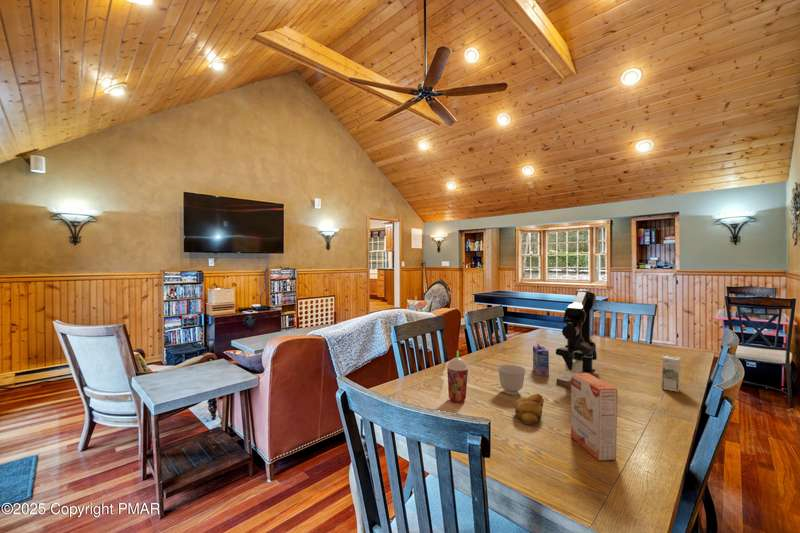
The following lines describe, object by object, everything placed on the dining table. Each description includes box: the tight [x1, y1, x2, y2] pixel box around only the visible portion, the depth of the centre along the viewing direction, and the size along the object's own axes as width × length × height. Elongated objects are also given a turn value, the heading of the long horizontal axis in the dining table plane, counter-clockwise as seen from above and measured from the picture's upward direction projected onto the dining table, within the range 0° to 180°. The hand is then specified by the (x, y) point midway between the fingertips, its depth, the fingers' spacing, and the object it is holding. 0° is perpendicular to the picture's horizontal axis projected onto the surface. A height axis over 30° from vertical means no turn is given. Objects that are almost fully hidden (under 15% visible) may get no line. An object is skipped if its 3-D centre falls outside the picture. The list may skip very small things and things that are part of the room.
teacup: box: [496, 364, 527, 396], centre depth 153 cm, size 12×15×10 cm
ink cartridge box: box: [532, 343, 550, 377], centre depth 178 cm, size 10×6×14 cm, turn 174°
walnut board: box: [556, 374, 572, 390], centre depth 161 cm, size 10×10×3 cm
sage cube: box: [565, 359, 583, 374], centre depth 161 cm, size 5×5×5 cm
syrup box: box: [661, 354, 681, 393], centre depth 156 cm, size 6×6×14 cm
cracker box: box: [570, 372, 618, 462], centre depth 107 cm, size 14×6×21 cm, turn 5°
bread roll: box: [514, 393, 545, 425], centre depth 127 cm, size 13×10×8 cm
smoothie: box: [446, 350, 469, 404], centre depth 142 cm, size 8×8×20 cm
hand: (573, 369), depth 161 cm, fingers closed on sage cube, 5 cm apart
